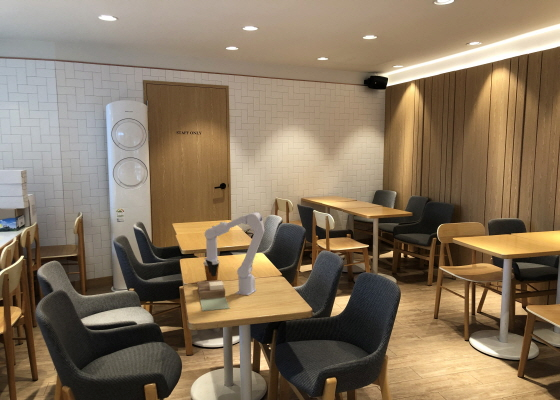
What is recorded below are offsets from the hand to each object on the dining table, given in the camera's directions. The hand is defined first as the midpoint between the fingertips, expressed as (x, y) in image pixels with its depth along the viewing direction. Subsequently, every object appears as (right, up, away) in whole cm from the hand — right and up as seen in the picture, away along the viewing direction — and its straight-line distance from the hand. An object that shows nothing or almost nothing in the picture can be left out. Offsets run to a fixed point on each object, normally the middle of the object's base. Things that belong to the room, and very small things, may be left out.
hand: (212, 274), depth 235 cm
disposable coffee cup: (-4, -8, +22) cm, 23 cm away
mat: (+4, -12, -19) cm, 23 cm away
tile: (+3, -5, -6) cm, 9 cm away
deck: (0, -10, -2) cm, 10 cm away
